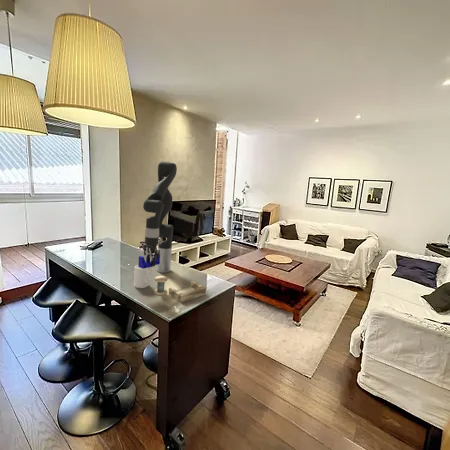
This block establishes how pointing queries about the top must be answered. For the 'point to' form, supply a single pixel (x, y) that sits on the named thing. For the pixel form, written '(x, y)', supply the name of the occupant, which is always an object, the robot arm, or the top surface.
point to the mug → (141, 277)
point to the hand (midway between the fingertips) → (150, 264)
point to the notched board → (187, 292)
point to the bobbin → (160, 285)
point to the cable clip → (144, 264)
